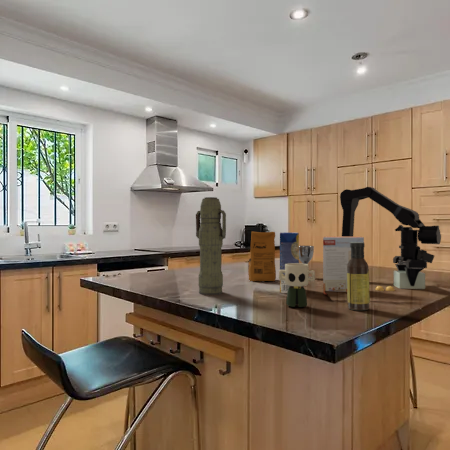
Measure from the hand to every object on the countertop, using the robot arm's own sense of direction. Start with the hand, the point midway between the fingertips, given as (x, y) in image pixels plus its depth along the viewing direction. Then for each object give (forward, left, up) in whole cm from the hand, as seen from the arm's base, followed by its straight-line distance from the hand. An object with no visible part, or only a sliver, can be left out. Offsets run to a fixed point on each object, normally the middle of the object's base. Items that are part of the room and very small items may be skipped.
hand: (408, 284), depth 144 cm
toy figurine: (-44, -33, -3) cm, 55 cm away
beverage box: (-45, -5, -3) cm, 45 cm away
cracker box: (-26, -10, -3) cm, 28 cm away
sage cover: (0, 0, -1) cm, 1 cm away
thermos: (-74, -13, -3) cm, 75 cm away
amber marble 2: (-9, -8, -1) cm, 12 cm away
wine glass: (-36, +31, -3) cm, 48 cm away
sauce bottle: (-26, -34, -3) cm, 43 cm away
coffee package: (-56, +20, -3) cm, 59 cm away
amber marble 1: (-13, -8, -1) cm, 15 cm away
